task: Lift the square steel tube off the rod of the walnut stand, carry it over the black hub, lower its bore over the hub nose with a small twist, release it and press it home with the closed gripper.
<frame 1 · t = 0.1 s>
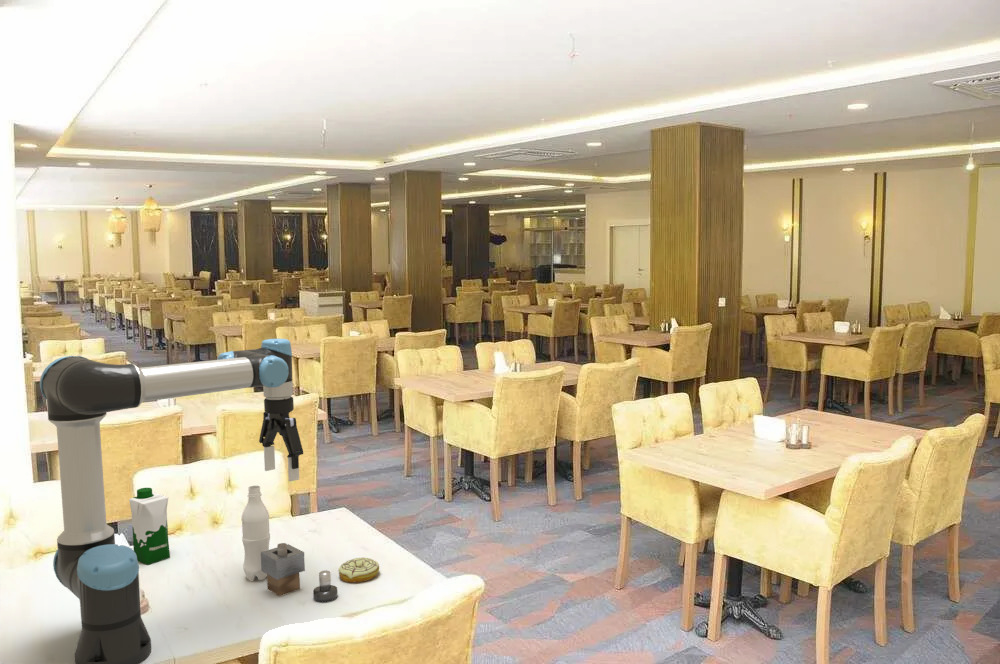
hand: (281, 475, 217), 28 cm above the table, fingers open, 13 cm apart
decorated donut: (359, 577, 219), on the table
water bottle: (257, 577, 218), on the table
square steel tube: (283, 570, 210), point 5 cm above the table, touching stand
stand: (283, 589, 210), on the table
milk carton: (152, 559, 232), on the table
hub: (325, 597, 205), on the table
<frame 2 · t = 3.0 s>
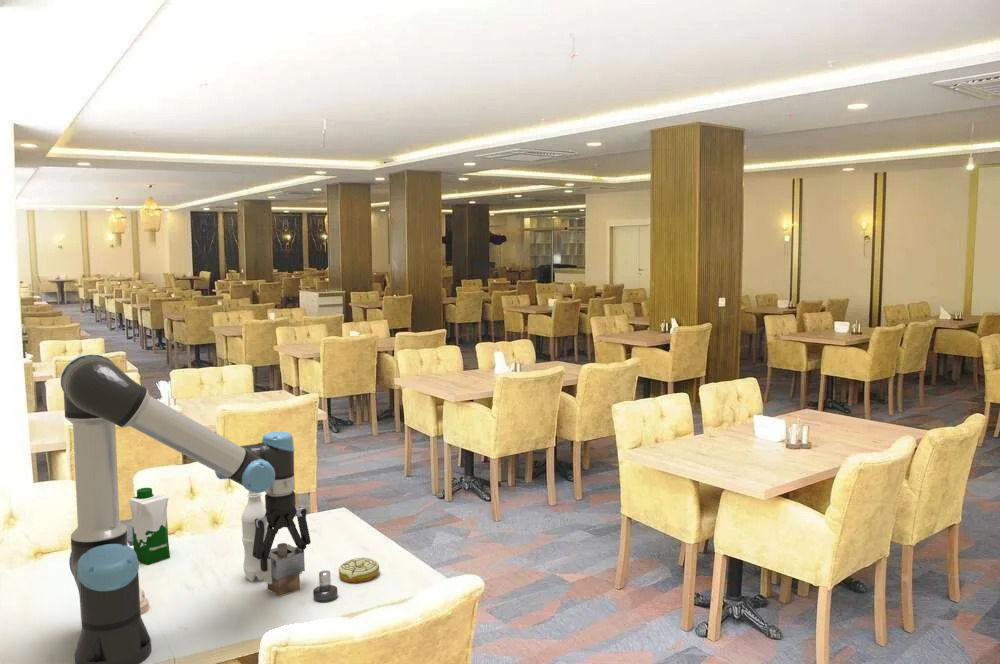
hand: (283, 577, 210), 3 cm above the table, fingers closed on square steel tube, 8 cm apart
square steel tube: (283, 570, 210), point 5 cm above the table, touching gripper, stand
everything else where it was.
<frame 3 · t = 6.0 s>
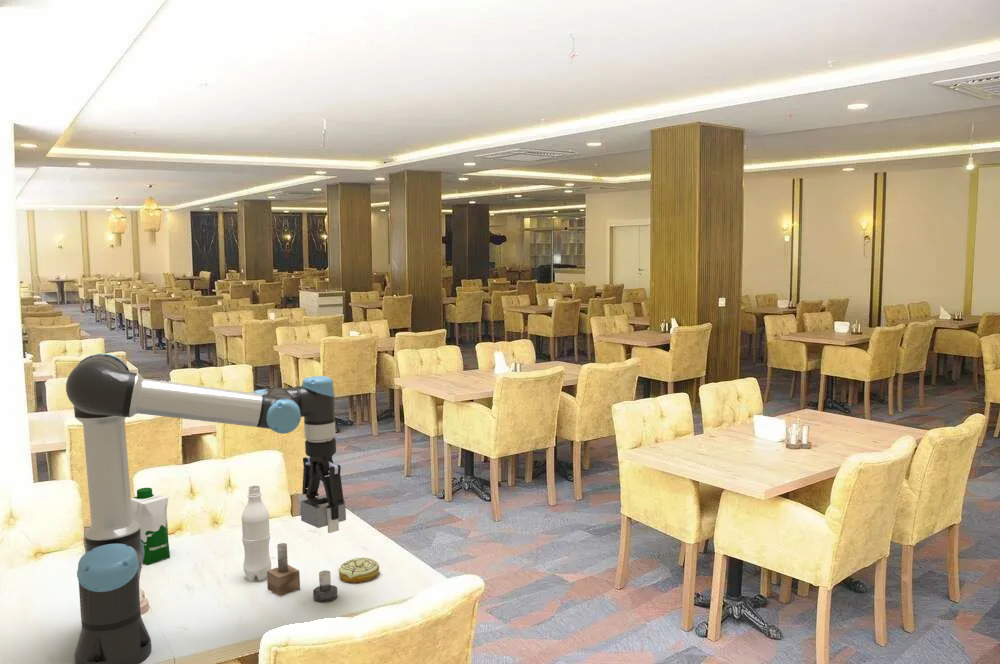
hand: (323, 527, 203), 18 cm above the table, fingers closed on square steel tube, 8 cm apart
square steel tube: (323, 520, 203), point 20 cm above the table, touching gripper
everything else where it was.
when the fingers open (3 cm above the table, at t = 9.1 s): square steel tube drops 2 cm, resting on hub.
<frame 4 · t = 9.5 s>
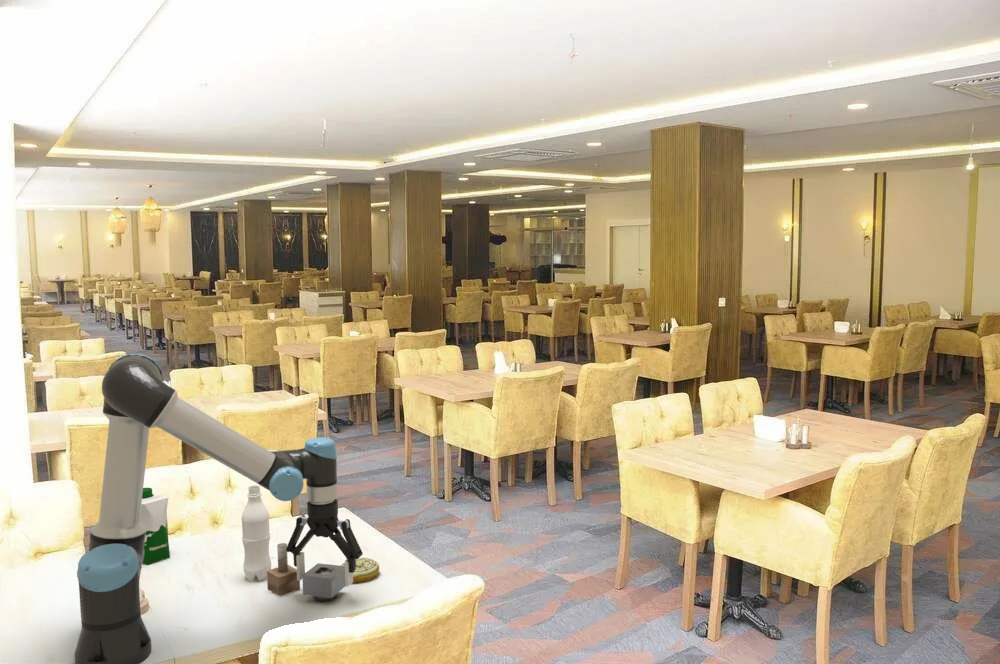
hand: (325, 581, 205), 4 cm above the table, fingers open, 13 cm apart
square steel tube: (325, 589, 205), point 2 cm above the table, touching hub
everything else where it was.
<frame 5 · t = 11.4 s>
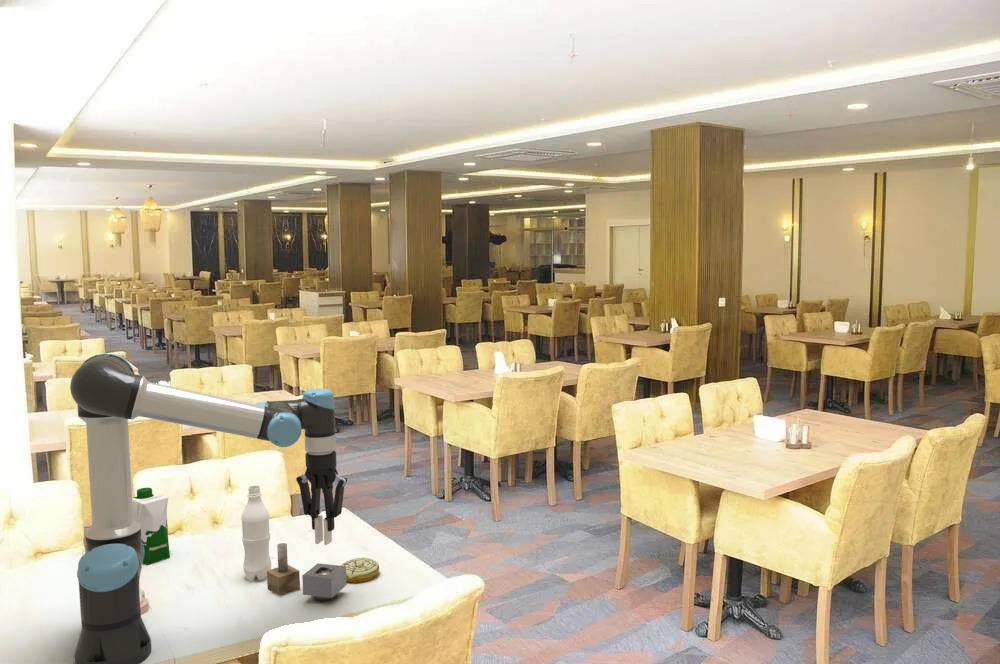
hand: (323, 542, 204), 14 cm above the table, fingers closed
nothing on the table moved.
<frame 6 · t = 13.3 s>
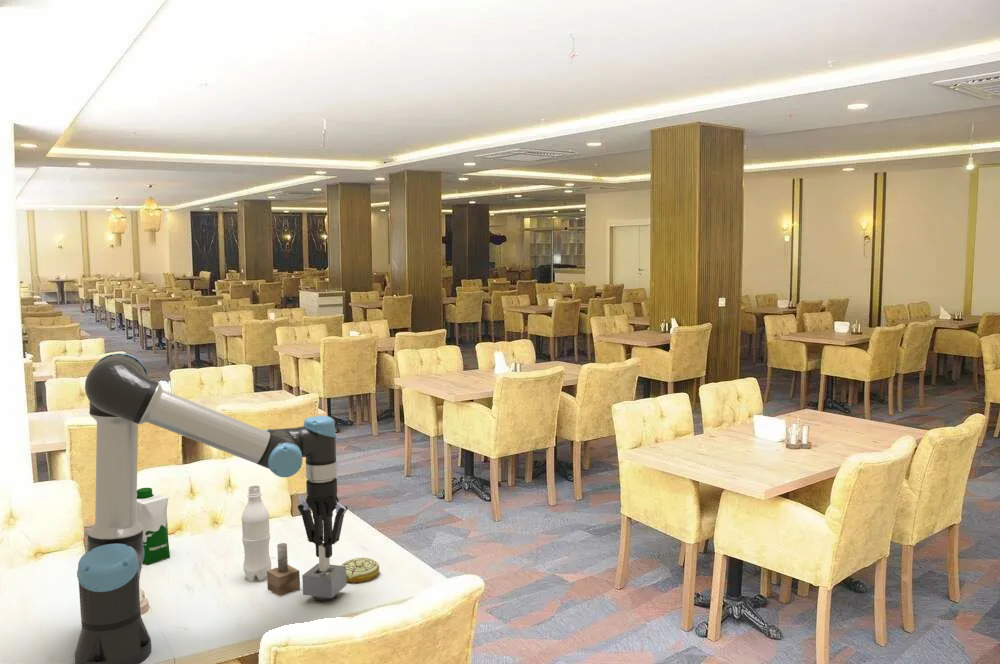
hand: (324, 569, 204), 7 cm above the table, fingers closed
nothing on the table moved.
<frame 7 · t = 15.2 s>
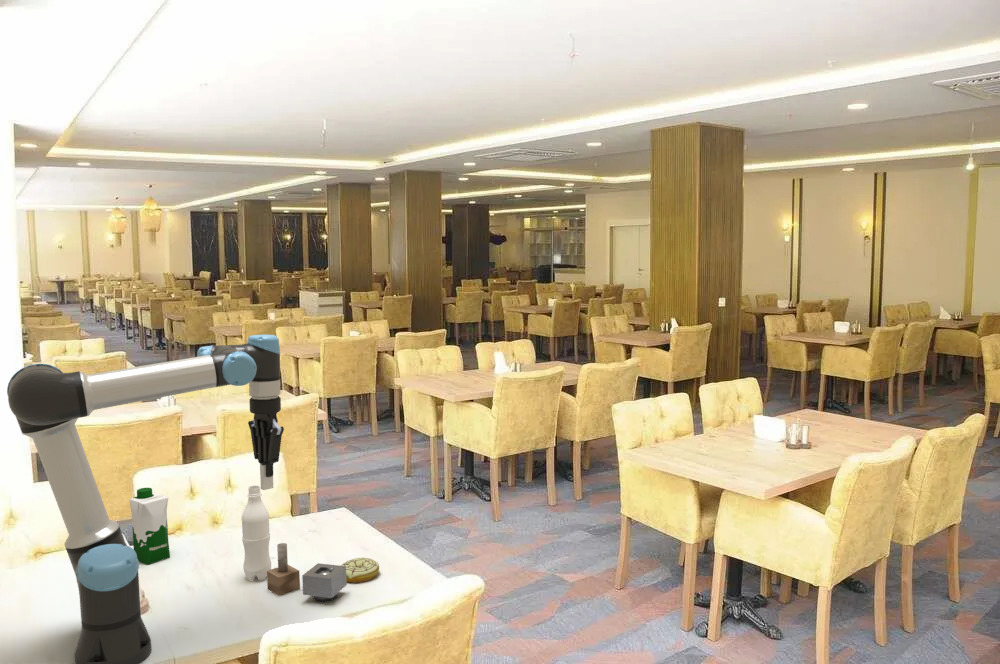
hand: (267, 488, 204), 28 cm above the table, fingers closed
nothing on the table moved.
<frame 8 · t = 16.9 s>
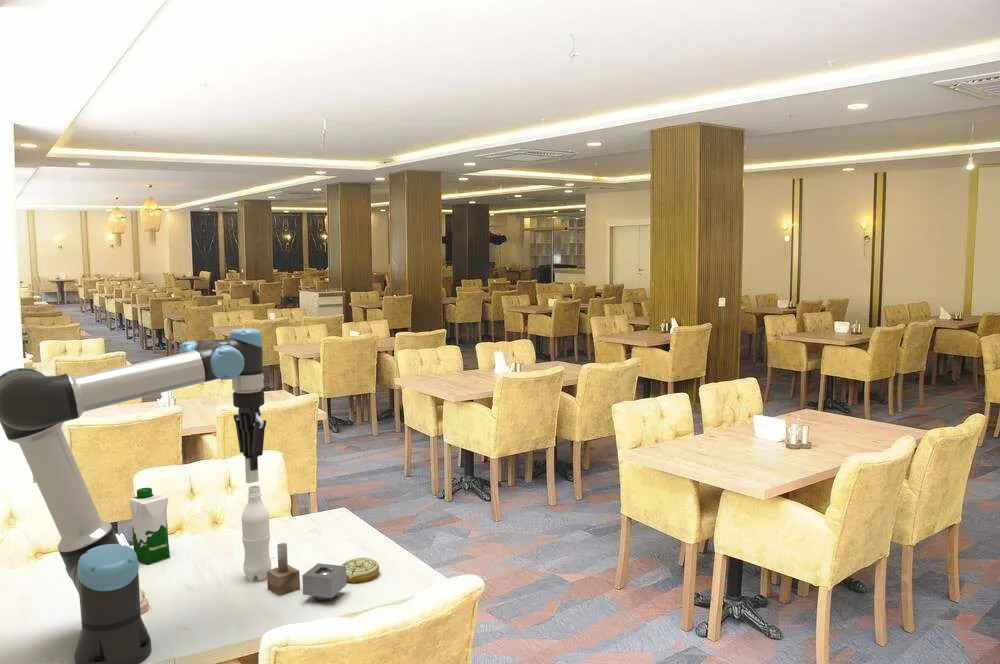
hand: (252, 481, 205), 29 cm above the table, fingers closed
nothing on the table moved.
at the end: square steel tube 0.0 cm off-centre on the hub, point 2.0 cm above the hub's base; the gripper is holding nothing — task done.
